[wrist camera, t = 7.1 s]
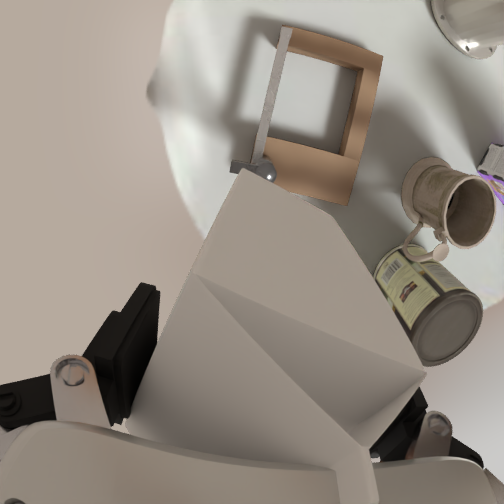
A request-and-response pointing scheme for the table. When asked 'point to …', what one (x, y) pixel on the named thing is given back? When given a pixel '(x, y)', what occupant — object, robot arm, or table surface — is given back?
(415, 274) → the coffee can
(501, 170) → the candy box
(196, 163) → the table surface
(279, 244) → the milk carton
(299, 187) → the wooden frame
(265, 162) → the hook post
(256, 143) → the rail
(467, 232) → the mug
